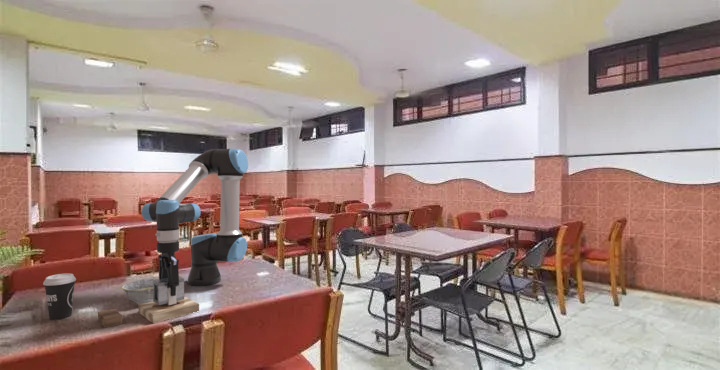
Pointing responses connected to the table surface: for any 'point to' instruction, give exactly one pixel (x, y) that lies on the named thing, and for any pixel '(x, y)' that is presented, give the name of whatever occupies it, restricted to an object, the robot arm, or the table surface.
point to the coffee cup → (59, 295)
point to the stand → (109, 318)
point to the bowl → (140, 291)
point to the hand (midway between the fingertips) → (168, 302)
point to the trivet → (167, 310)
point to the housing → (166, 290)
